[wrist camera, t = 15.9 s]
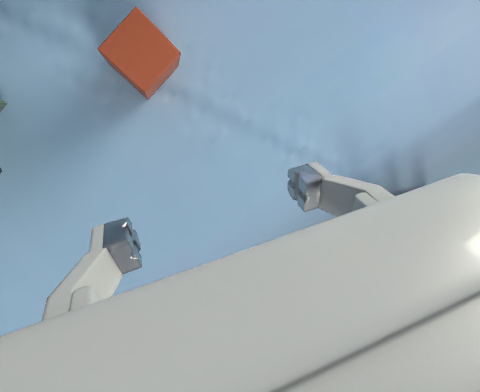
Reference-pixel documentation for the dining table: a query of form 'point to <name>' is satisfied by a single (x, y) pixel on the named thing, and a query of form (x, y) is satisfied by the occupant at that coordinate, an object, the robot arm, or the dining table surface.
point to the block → (140, 53)
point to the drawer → (0, 105)
